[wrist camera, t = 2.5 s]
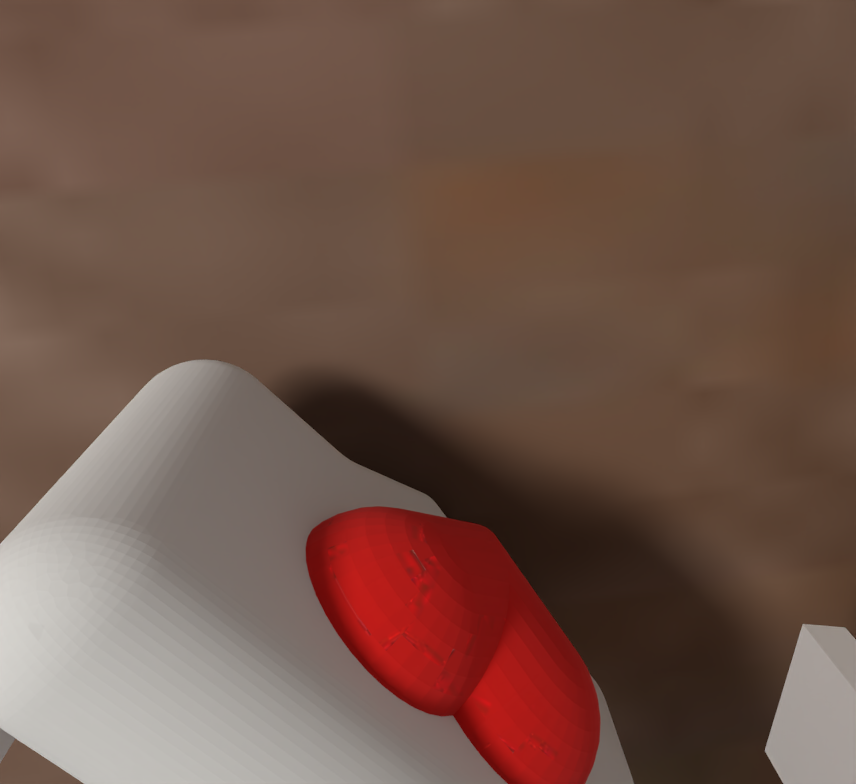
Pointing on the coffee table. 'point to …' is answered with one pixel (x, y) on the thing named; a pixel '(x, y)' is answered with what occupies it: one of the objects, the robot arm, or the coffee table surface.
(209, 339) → the coffee table surface
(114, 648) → the icon
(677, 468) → the coffee table surface
